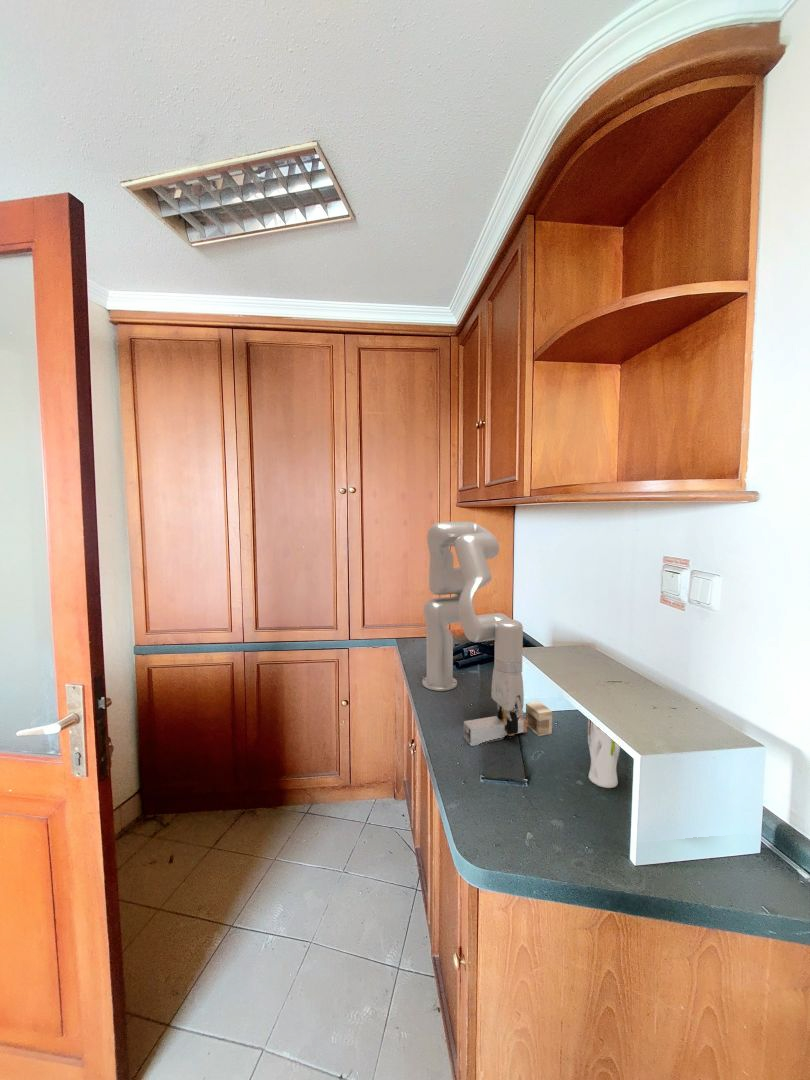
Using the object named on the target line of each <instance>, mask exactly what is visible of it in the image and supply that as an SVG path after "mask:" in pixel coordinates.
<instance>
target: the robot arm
mask: <svg viewBox="0 0 810 1080" xmlns="http://www.w3.org/2000/svg"><path fill="white" fill-rule="evenodd" d="M426 542H427V547H428V551H429V552H428V553H429V571H428V573H429V574H428V576H429V577H428V587H429V590H430V592H431V593H432V594H433V595H437V596H441V597H435V598H431V599H429V600H427V601H426V602H425V604H424V606H423V616H424V621H425V632H426V634H425V635H426V637H425V638H426V639H425V640H426V676H425V677H423V678H422V680H421V682H422V683H421V685H423V687H424V688H426V689H427V690H431V691H436V692H442V691H443V692H445V691H450V690H454V689H455V688H456V687H458V686H457V685H458V680H457V679H456V678H454V677H453V675H454V669H453V668H454V665H453V664H454V659H453V658H454V656H453V654H454V650H453V649H454V639H453V638H454V636H453V633H452V632H451V630H450V629H449V627H448V625H449V624H450V625H451V624H457V623H460V624H461V627H462V631H463V633H464V636H465V637H466V638H467V640H469V641H470V642H473V643H483V642H489V641H494V659H493V660H494V662H493V663H494V664H493V670H492V677H491V698H492V700H493V701H494V702H495V703H496V711H497V717H498V718H499V719H500V720H501V717H502V713H501V711H502V708H504V709H505V710H506V711H508V720H507V734H508V735H509V734H514V735H516V734H515V733H517V734H519V733H518V720H519V718H520V717H524V715H525V714H524V711H523V709H524V703H525V701H524V699H525V697H524V696H525V695H524V681H523V654H524V653H523V651H524V649H523V647H524V646H523V645H524V642H523V640H524V639H523V637H524V626H523V624H522V622H520V621H518V620H516V619H512V618H510V617H509V616H507V615H506V614H504V613H501V612H497V613H496V612H495V613H486V614H485V613H484V614H480V615H479V614H478V615H476V613H475V608H474V596H475V594H476V593H477V591H478V590H480V589H482V588H485V586H487V585H488V584H490V583H491V581H492V579H493V575H492V573H491V570H490V567H489V564H488V561H487V560H488V559H489V560H491V559H494V558H496V557H497V556H498V554H499V551H500V544H499V541H498V539H497V538H496V536H495V535H494V534H493V533H492V532H490V531H489V530H487V529H486V528H485V527H483V526H481V525H480V524H478V523H476V522H474V521H473V522H472V521H441V522H437V523H434V524H432V525H431V526H430V527H429V529H428V531H427V535H426ZM451 547H454V550H455V554H456V557H457V561H458V565H459V566H458V567H454V563H455V562H454V561H455V557H454V554H453V552H452V550H451ZM444 595H454V596H445V597H442V596H444ZM511 711H514V713H513V714H512V712H511Z"/></svg>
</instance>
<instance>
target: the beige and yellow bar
mask: <svg viewBox="0 0 810 1080" xmlns="http://www.w3.org/2000/svg"><path fill="white" fill-rule="evenodd" d="M511 712H512V714H513V713H515V711H511ZM501 713H502V717H501V721H502V722H503V723H504V724H505V736H507V735H508V734H507V720H508V711H506V710H505V709H504V708H502V711H501ZM527 732H528V727H527V721H526V718H524V716H522V717H520V718H519V720H518V733H515V734H509V736H510V735H514V736H515V735H516V734H521V733H527ZM470 736H471V730H470Z"/></svg>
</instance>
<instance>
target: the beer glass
mask: <svg viewBox="0 0 810 1080" xmlns="http://www.w3.org/2000/svg"><path fill="white" fill-rule="evenodd" d="M587 722H588V723H587V743H588V748H589V749H588V750H589V754H590V755H589V756H590V767H589V772H588V779H589V781H590V782H592V784H595V786H598V787H600V788H605V789H613V788H616V787H618V784H619V781H618V779H619V778H618V773H617V764H618V761H619V755H620V751H621V746H619V745H618V744H617V743H616V742H614V741H613V740H612V739H611V738H610V737H609V736H608V735H607V734H606V733H604V732H603V731H602V730H601V729H600V728H599V727H597V726H596V725H595V724H594V723H593V722H592V721H591V720H590V719H589V718H588V721H587Z"/></svg>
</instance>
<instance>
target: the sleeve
mask: <svg viewBox="0 0 810 1080" xmlns="http://www.w3.org/2000/svg"><path fill="white" fill-rule="evenodd" d="M470 730H471V736H470ZM505 736H506V735H505V724H504V723H503V722H502V721H501V720H500V719H499V718H498V715H495V716H488V717H483V718H482V717H481V718H476V719H469V720H464V721H463V738H464V739H465V740H466V742H467V743H468V744H469V746H470V747H474V746H475V747H476V746H480V745H479V744H480V743H482V742H485V741H489V740H493V739H497V738H502V737H505Z"/></svg>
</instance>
